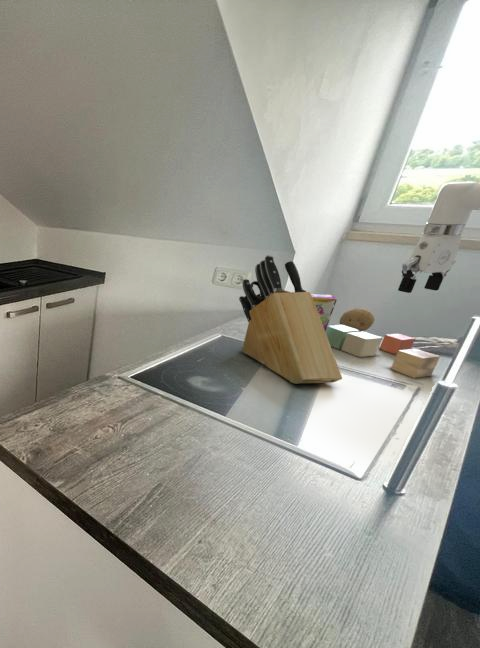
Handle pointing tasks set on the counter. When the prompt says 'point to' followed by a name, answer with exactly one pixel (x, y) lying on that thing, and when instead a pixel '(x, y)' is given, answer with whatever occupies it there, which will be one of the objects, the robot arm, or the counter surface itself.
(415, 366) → the beech block
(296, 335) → the knife block
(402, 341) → the terracotta block
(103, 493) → the counter surface
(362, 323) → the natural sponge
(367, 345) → the cream block
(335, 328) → the sage block
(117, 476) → the counter surface
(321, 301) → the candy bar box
